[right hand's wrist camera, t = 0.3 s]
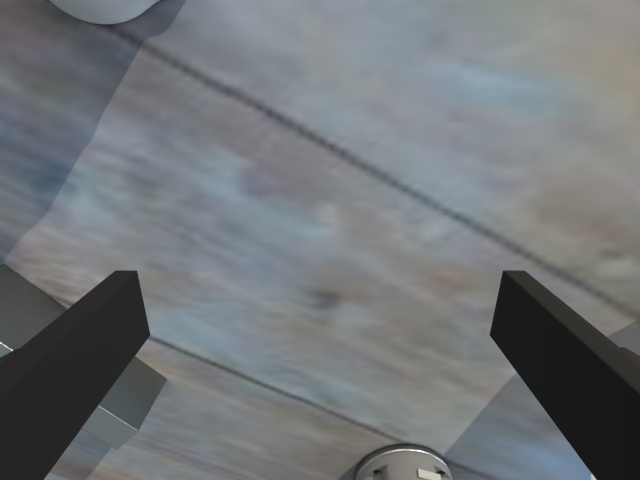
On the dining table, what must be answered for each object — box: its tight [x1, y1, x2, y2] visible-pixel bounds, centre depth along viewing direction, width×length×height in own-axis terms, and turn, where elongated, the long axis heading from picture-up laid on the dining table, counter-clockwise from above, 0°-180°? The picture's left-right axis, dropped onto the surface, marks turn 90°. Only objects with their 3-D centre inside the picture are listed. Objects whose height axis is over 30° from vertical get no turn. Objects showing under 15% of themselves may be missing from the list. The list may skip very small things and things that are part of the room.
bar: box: [0, 264, 167, 450], centre depth 42 cm, size 24×4×8 cm, turn 44°
